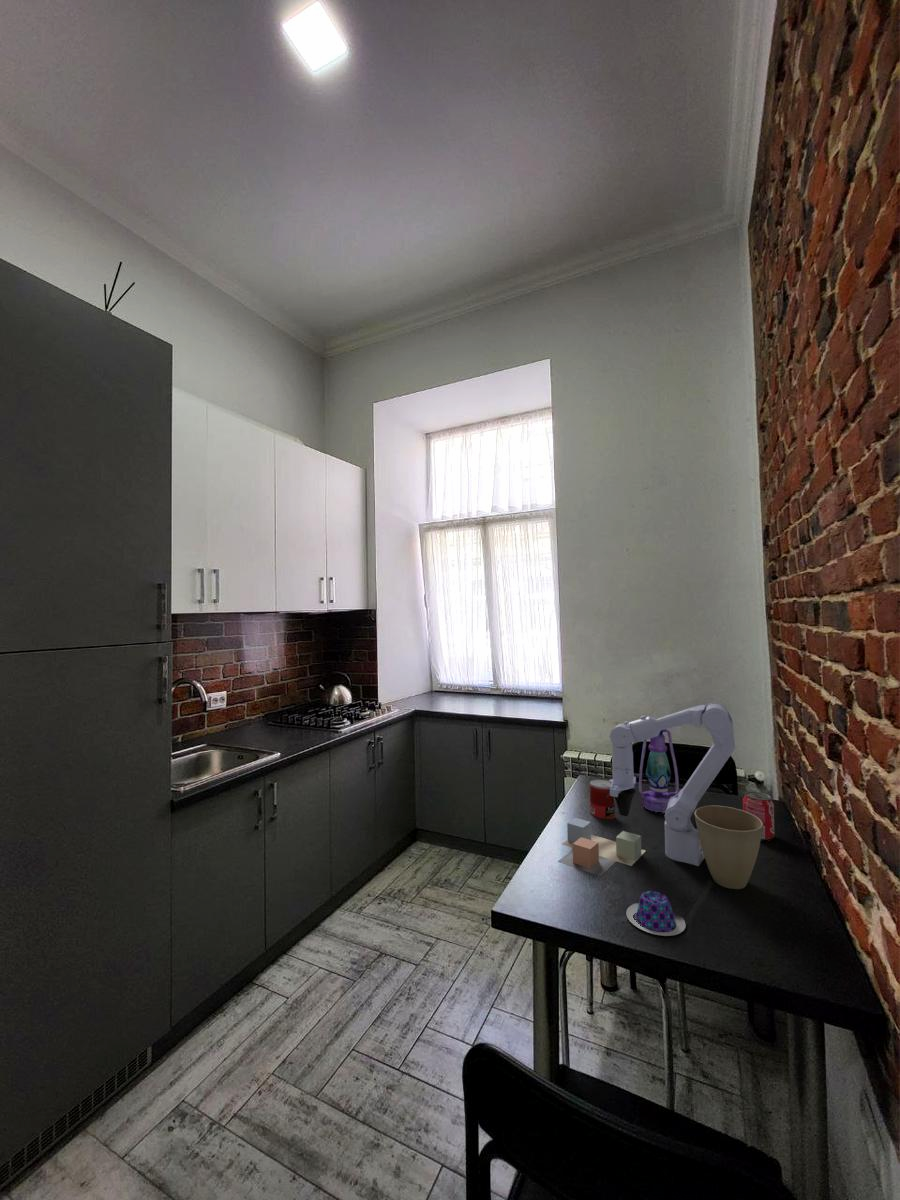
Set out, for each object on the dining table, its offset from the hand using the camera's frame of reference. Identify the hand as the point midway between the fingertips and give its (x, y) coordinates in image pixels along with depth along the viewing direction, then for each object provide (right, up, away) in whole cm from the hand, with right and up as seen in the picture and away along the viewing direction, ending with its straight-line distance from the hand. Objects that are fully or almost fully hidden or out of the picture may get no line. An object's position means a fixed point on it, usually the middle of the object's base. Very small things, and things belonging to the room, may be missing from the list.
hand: (624, 814), depth 143 cm
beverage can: (+43, -9, +7) cm, 44 cm away
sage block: (-1, -8, -7) cm, 10 cm away
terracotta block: (-14, -8, -10) cm, 19 cm away
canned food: (0, -10, +22) cm, 24 cm away
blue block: (-12, -9, +3) cm, 15 cm away
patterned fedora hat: (-5, -9, -34) cm, 35 cm away
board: (-9, -9, -5) cm, 14 cm away
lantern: (+22, -10, +28) cm, 37 cm away
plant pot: (+20, -9, -19) cm, 29 cm away
